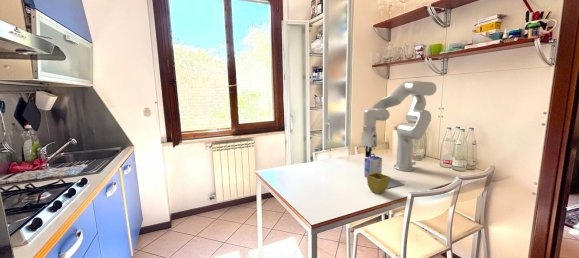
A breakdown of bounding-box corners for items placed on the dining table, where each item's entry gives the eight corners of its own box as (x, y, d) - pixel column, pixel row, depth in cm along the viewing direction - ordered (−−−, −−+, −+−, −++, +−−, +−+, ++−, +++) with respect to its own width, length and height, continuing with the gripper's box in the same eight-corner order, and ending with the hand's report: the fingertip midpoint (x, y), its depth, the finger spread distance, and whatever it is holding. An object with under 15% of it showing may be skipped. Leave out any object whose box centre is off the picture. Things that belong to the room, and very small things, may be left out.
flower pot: (376, 187, 143) (377, 171, 141) (389, 192, 135) (390, 176, 134) (365, 190, 138) (366, 175, 136) (378, 196, 131) (379, 180, 129)
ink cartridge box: (375, 173, 164) (376, 152, 161) (381, 176, 158) (383, 154, 156) (363, 176, 160) (364, 154, 157) (369, 179, 155) (370, 156, 152)
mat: (385, 176, 159) (385, 175, 159) (404, 184, 145) (404, 184, 145) (367, 179, 153) (367, 179, 153) (386, 189, 140) (386, 188, 140)
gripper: (382, 130, 153) (381, 159, 156) (366, 126, 167) (365, 153, 170) (372, 131, 150) (371, 160, 153) (357, 127, 164) (355, 154, 167)
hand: (368, 156), depth 162 cm, fingers closed
